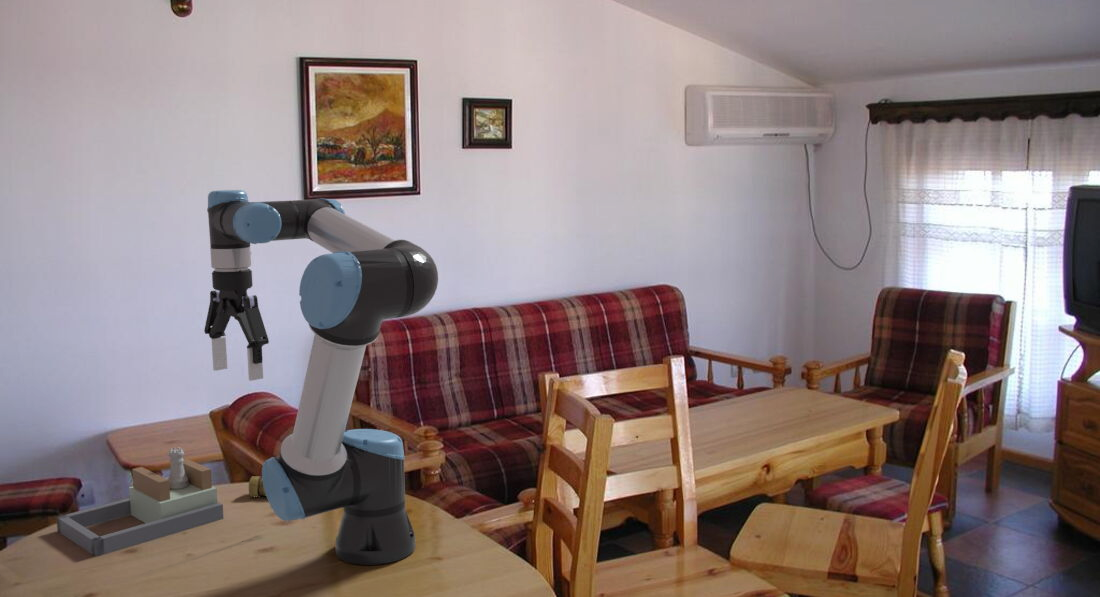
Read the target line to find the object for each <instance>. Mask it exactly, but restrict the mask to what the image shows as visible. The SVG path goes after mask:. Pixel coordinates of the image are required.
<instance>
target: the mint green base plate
mask: <svg viewBox="0 0 1100 597" xmlns="http://www.w3.org/2000/svg"><path fill="white" fill-rule="evenodd" d="M182 458H183V459H184V461H183V466H184V471H185V473H186V475H187V476H188V478H189V480H188V482H189V485H188V486H187V487H186V488H183V489H176V490H174V489H170V488H169V480H168V478H169V476H167V477H164V476H162V475H160V474H157V473H156V472H153V471H151V470H149V469H147V468H145V467H143V466H140V467H139V466H138V467H136V468H135V467H134V468H132V472H131V473H132V483H133V485H132V486H129V487H128V491H129V492H128V493H129V498H130V507H131V515H130V516H132V517H134V518H136V520H139V521H141V522H142V523H143V524H145V523H149V522H152V521H156V520H160V519H163V518H167V517H170V516H174V515H177V514H181V513H184V512H188V511H191V510H195V509H198V508H202V507H205V506H209V505H212V504H216V503H219V502H218V488H217V487H215V486H213V482H212V480H213V479H212V469H211V468H209V467H207V466H205V465H202V464H200V463H197V462H196V461H193V460H191V459H188V458H186V457H184V456H182Z"/></svg>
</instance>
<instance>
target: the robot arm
mask: <svg viewBox="0 0 1100 597" xmlns="http://www.w3.org/2000/svg"><path fill="white" fill-rule="evenodd" d="M206 210H207V214H208V215H207V216H208V228H209V230H208V232H209V244H210V246H209V247H210V248H209V249H210V263H211V264H210V265H211V266H210V267H211V268H212V269H213V271H212V272H211V280H212V288H213V290H210V291H209V292H210V293H209V298H210V299H209V306H208V310H207V311H208V312H207V314H206V315H207V316H206V321H205V325H204V334H205V335H207V334H208V336H209V338H210V339H211V350H212V353H211V354H212V369H213V371H215V372H216V371H222V370H226V369H228V359H227V358H228V357H227V356H228V355H227V343H226V342H227V341H226V340H227V339H226V336H227V335H226V333H225V332H226V328H227V327H228V324H229V322H230V320H231V317H233V318H234V320H236V321H238V324H239V325H240V328H241V330H242V332H243V334H244V337H245V339H246V341H247V343H248V344H247V346H246V350H247V352H246V355H247V369H248V371H247V372H248V374H247V375H248V381H257V380H261V379H264V369H263V368H264V367H263V346H264V345H268V344H269V343H270V340H269V337H268V333H267V330H266V327H265V325H264V321H263V318H262V315H261V311H260V309H259V301H258V296H257V295H248V292H247V291H248V290H249V289H252V287H253V271H252V270H251V269H250V267H251V265H252V258H251V255H252V250H251V244H252V245H253V244H254V245H257V244H266V243H270V242H273V241H274V242H277V241H287V240H288V241H290V240H301V239H302V240H303V239H307V240H310V241H312V242H313V243H315V244H316V245H319V246H320V247H322V248H324V249H326V251H328V252H330V253H326V254H321V255H319V256H316V257H315V258H313V259H312V260H311V261H310V262H309V263H308V264H307V265H306V268H305V269H304V271H303V273H302V277H301V279H300V284H299V289H298V290H299V292H298V293H299V297H300V301H299V305H300V310H301V313H302V315H303V317H304V320H305V321H306V322H307V323H308V326H309V328H310V330H311V332H313V334H314V337H313V341H312V346H311V350H310V354H309V355H310V356H309V360H308V363H307V369H306V373H305V378H304V382H303V385H302V386H303V387H302V391H301V395H300V401H299V404H298V409H297V414H296V418H295V423H294V427H293V431H292V432H293V433H290V434H289V435H288V436H287V437H285V438H284V439H283V441H282V443H281V446H280V450H279V453H278V454H279V455H278V456H276V457H274V456H272V457H270V458H268V459H266V460H265V461H264V462H263V464H262V468H261V477H262V480H263V486H264V490H265V493H266V496H265V497H266V498H267V501H268V503H269V505H270V508H271V509H272V511H273V513H274V514H275V515H276V516H277V517H278V518H279V519H280V520H282V521H285V522H290V521H291V522H292V521H296V520H305V519H306V518H310V517H314V516H317V515H320V514H324V513H328V512H331V511H335V510H338V509H343V514H342V517H341V520H340V525H339V529H338V533H337V536H336V538H335V544H334V545H335V555H336V557H337V558H338V559H340V560H342V561H344V562H346V563H350V564H354V565H360V566H362V565H363V566H365V565H366V566H372V565H384V564H389V563H393V562H396V561H397V562H398V561H401V560H403V559H405V558H407V557H408V556H410V555H411V554H412V553H414V551H415V550H416V534H415V531H414V528H413V526H412V522H411V520H410V517H409V515H408V512H407V508H406V488H405V487H406V484H405V459H406V456H405V453H404V443H403V440H402V438H401V437H400V436H399V435H397V434H396V433H393V432H391V431H386V430H381V429H376V428H375V429H374V428H356V429H355V428H354V429H348V430H346V426H347V423H348V419H349V415H350V411H351V407H352V404H353V399H354V396H355V393H356V391H355V390H356V387H357V383H358V380H359V376H360V373H361V368H362V363H363V360H364V356H365V352H366V348H367V346H368V345H371V344H373V343H374V342H375V341H376V340H377V339H378V338H379V334H380V331H381V330H380V329H381V326H382V322H383V321H385V320H391V319H392V320H393V319H398V318H403V317H404V318H405V317H409V316H412V315H415V314H418V312H420V311H422V310H423V309H424V308H426V306H428V304H430V302H431V300H432V299H434V298H433V297H434V296H435V294H436V291H437V289H438V284H439V274H438V273H439V271H438V269H437V264H436V262H435V261H434V259H433V258H432V256H431V255H430V253H429V252H427V251H426V250H425V249H424V248H422V247H421V246H419V245H417V244H415V243H413V242H411V241H409V240H406V239H396V240H394V238H391V237H390V236H387V235H385V234H383V233H381V232H379V231H378V230H375V229H373V228H372V227H369V226H368V225H366V224H363V223H362V222H360V221H358V220H356V219H354V218H352V217H350V216H349V215H347V214H346V212H345V209H344V207H343V206H342V204H341V202H339V201H338V200H337V199H335V198H333V199H332V198H330V199H329V198H321V197H319V198H315V199H312V198H311V199H299V200H274V201H249V198H248V193H247V192H246V191H245V190H242V189H228V190H227V189H223V190H212V191H210V192H209V193H208V195H207V208H206Z"/></svg>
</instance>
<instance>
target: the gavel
mask: <svg viewBox="0 0 1100 597" xmlns="http://www.w3.org/2000/svg"><path fill="white" fill-rule="evenodd" d="M248 495H249V496H250V498H260V497H261V496H264V497H267V496H266V493H265V490H264V486H263V480H262V475H260V476H259V475H258V476H257V475H256V476H251V477H250V479H249V483H248ZM260 495H261V496H260ZM254 496H255V497H254ZM256 496H257V497H256ZM259 496H260V497H259Z"/></svg>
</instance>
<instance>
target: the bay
mask: <svg viewBox="0 0 1100 597" xmlns="http://www.w3.org/2000/svg"><path fill="white" fill-rule="evenodd" d="M127 516H132V515H131V507H130V497H127V498H123V499H120V500H117V501H113V502H109V503H106V504H105V503H104V504H101V505H98V506H93V507H90V508H85V509H82V510H78V511H75V512H71V513H67V514H63V515H60V516H56V529H57V532H58V533H59V534H60V535H62V536H63V537H65V538H66V539H68V540H70V541H71V542H73V543H74V544H75V545H77V546H79V547H80V548H82V549H83V550H85V551H86V552H88V553H89V554H91V555H92V556H94V557H96V558H97V557H100V556H103V555H107V554H109V553H113V552H116V551H119V550H120V551H121V550H123V549H127V548H130V547H133V546H136V545H140V544H143V543H147V542H150V541H154V540H156V539H159V538H163V537H166V536H170V535H174V534H177V533H180V532H183V531H186V530H191V529H194V528H197V527H200V526H204V525H206V524H211V523H215V522H216V521H221V520H224V519H225V518H224V504H223V503H221V502H218V503H216V504H212V505H209V506H205V507H202V508H198V509H195V510H191V511H188V512H184V513H181V514H177V515H174V516H170V517H167V518H163V519H160V520H156V521H152V522H149V523H142V524H139V525H135V526H132V527H131V526H130V527H129V528H125V529H121V530H118V531H114V532H111V533H108V534H104V535H97V534H96V533H95V532H94V531H91V530H90V529H89V528H87V527H90V526H95V525H98V524H101V523H105V522H110V521H113V520H116V519H119V518H124V517H127Z"/></svg>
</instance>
